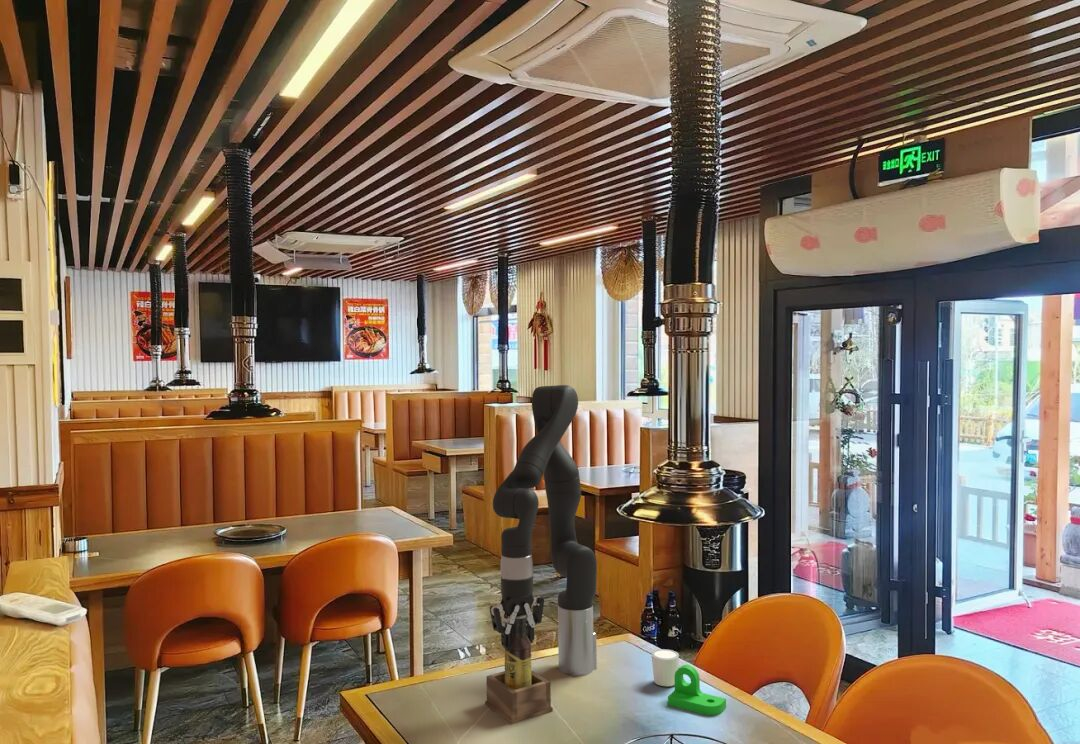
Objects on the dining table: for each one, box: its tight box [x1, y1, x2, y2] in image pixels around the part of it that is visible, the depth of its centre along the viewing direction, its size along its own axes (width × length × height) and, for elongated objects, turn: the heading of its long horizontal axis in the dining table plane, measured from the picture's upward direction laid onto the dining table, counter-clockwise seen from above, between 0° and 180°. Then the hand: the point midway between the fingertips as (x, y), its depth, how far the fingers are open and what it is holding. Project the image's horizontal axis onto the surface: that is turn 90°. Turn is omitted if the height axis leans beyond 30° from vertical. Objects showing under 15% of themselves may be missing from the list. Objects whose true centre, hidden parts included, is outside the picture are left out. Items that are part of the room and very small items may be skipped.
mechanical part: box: [667, 664, 727, 716], centre depth 182 cm, size 12×6×8 cm, turn 57°
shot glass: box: [651, 648, 680, 687], centre depth 195 cm, size 7×7×7 cm
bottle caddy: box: [484, 669, 554, 725], centre depth 181 cm, size 11×12×7 cm
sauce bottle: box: [504, 614, 532, 690], centre depth 181 cm, size 6×6×20 cm
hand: (517, 645), depth 181 cm, fingers closed on sauce bottle, 5 cm apart
